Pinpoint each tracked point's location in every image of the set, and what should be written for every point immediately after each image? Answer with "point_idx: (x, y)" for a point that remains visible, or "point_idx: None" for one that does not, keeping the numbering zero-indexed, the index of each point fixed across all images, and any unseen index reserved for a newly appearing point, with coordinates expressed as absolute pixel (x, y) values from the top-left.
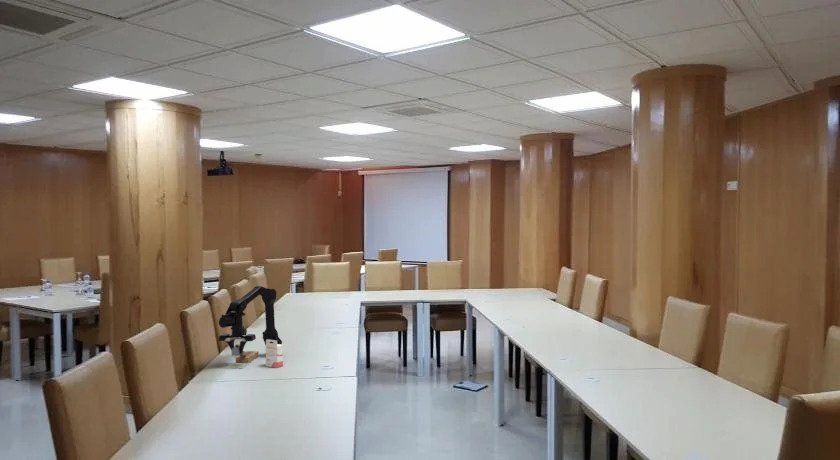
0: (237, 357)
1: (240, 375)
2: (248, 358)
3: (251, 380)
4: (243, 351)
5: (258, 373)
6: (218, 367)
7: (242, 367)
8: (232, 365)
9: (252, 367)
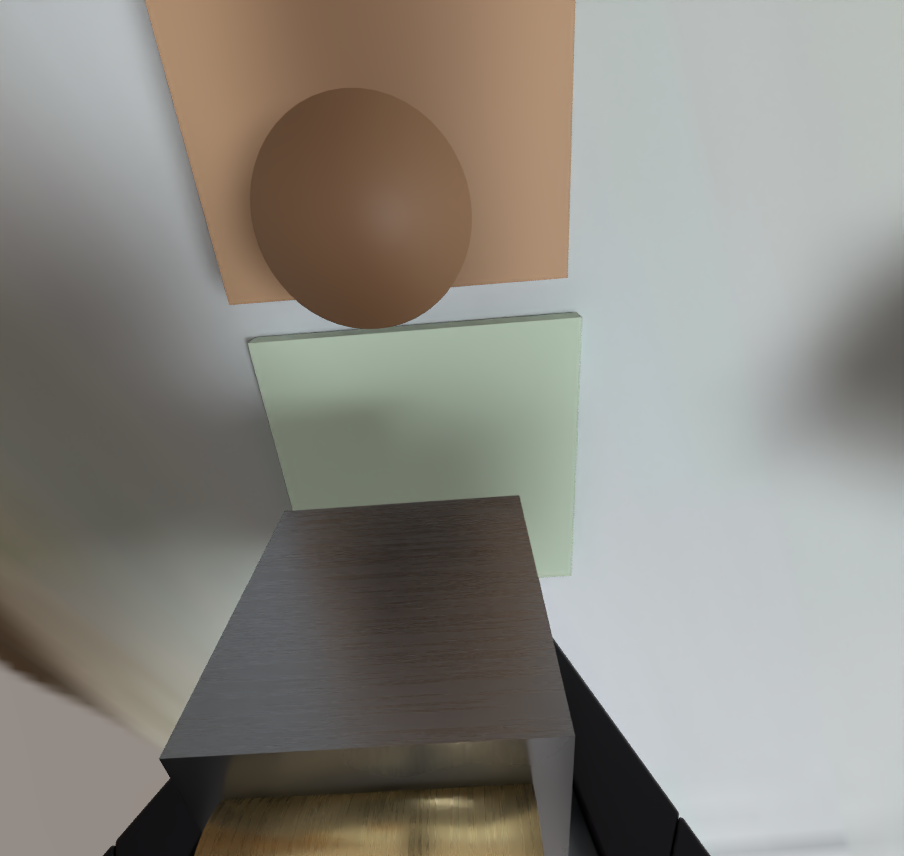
0: (253, 263)
1: (652, 769)
2: (563, 233)
3: (804, 852)
4: (350, 138)
5: (845, 700)
6: (168, 548)
7: (571, 567)
8: (350, 495)
9: (706, 484)
